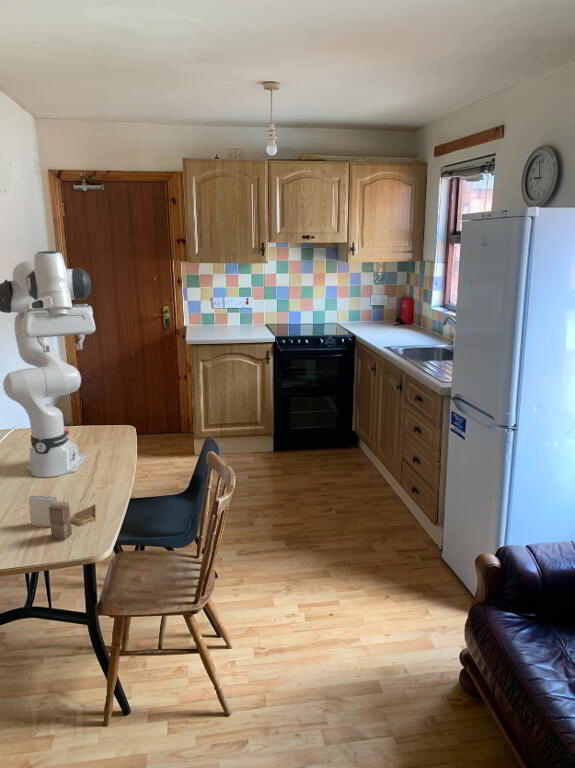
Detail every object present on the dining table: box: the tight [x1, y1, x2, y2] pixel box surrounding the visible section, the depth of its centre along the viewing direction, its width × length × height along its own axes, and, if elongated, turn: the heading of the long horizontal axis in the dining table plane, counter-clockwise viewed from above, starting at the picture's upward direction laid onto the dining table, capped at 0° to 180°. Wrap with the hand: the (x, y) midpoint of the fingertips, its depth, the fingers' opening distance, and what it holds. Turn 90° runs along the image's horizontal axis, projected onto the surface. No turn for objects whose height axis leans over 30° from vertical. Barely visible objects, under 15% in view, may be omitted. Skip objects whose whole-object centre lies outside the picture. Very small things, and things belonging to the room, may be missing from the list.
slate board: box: [28, 495, 58, 527], centre depth 174 cm, size 2×8×9 cm, turn 83°
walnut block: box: [49, 501, 73, 541], centre depth 168 cm, size 4×4×10 cm
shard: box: [70, 504, 97, 526], centre depth 181 cm, size 11×8×2 cm
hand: (63, 350), depth 172 cm, fingers open, 8 cm apart
